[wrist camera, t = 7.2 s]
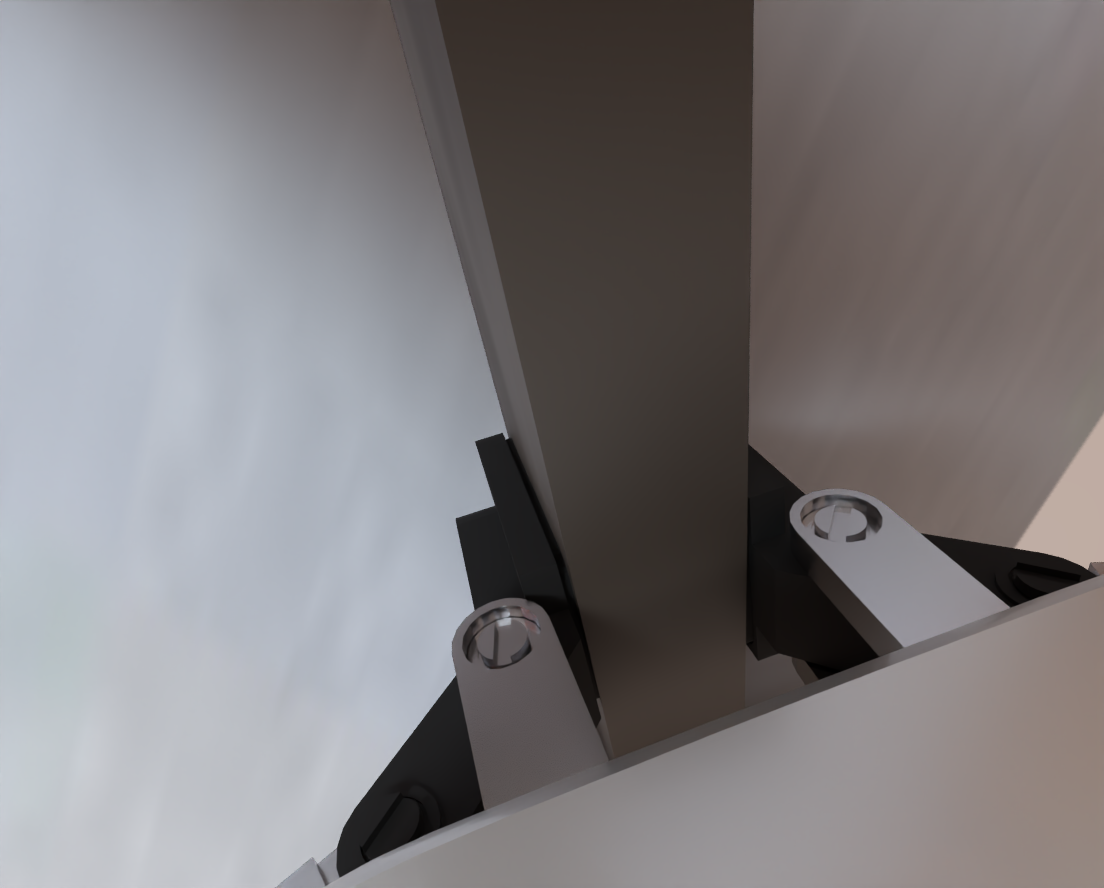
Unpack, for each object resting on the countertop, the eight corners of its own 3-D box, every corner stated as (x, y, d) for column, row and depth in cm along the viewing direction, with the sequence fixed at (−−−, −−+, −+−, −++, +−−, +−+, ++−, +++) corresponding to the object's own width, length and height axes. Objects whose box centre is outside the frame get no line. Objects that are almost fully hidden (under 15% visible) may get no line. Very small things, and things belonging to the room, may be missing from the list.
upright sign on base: (194, 23, 7) (23, 25, 3) (733, -95, 8) (1103, -204, 4) (481, 684, 16) (528, 910, 12) (735, 592, 17) (861, 775, 13)
